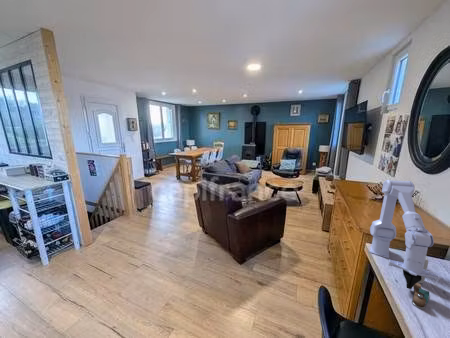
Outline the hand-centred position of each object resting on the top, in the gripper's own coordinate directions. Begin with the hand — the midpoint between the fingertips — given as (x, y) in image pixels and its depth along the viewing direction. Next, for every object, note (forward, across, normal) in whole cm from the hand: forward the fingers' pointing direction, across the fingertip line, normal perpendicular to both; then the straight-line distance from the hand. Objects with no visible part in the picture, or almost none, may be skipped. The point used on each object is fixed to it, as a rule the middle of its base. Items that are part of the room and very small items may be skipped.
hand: (408, 287), depth 77 cm
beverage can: (+2, +2, +10) cm, 10 cm away
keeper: (+1, +4, -3) cm, 5 cm away
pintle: (+1, +2, -7) cm, 8 cm away
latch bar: (+1, +2, -3) cm, 4 cm away
